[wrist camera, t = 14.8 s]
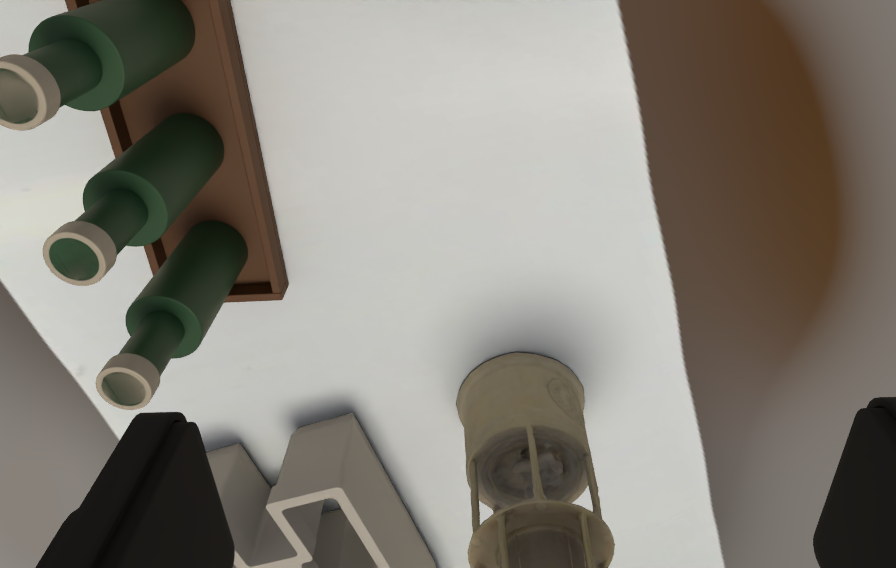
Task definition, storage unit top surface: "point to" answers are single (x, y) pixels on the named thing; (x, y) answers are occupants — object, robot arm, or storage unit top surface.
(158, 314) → the bottle end
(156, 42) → the bottle
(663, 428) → the storage unit top surface
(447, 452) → the storage unit top surface
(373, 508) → the grey compartment organizer
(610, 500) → the storage unit top surface
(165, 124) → the bottle mid
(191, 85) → the tray
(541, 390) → the lamp
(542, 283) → the storage unit top surface
